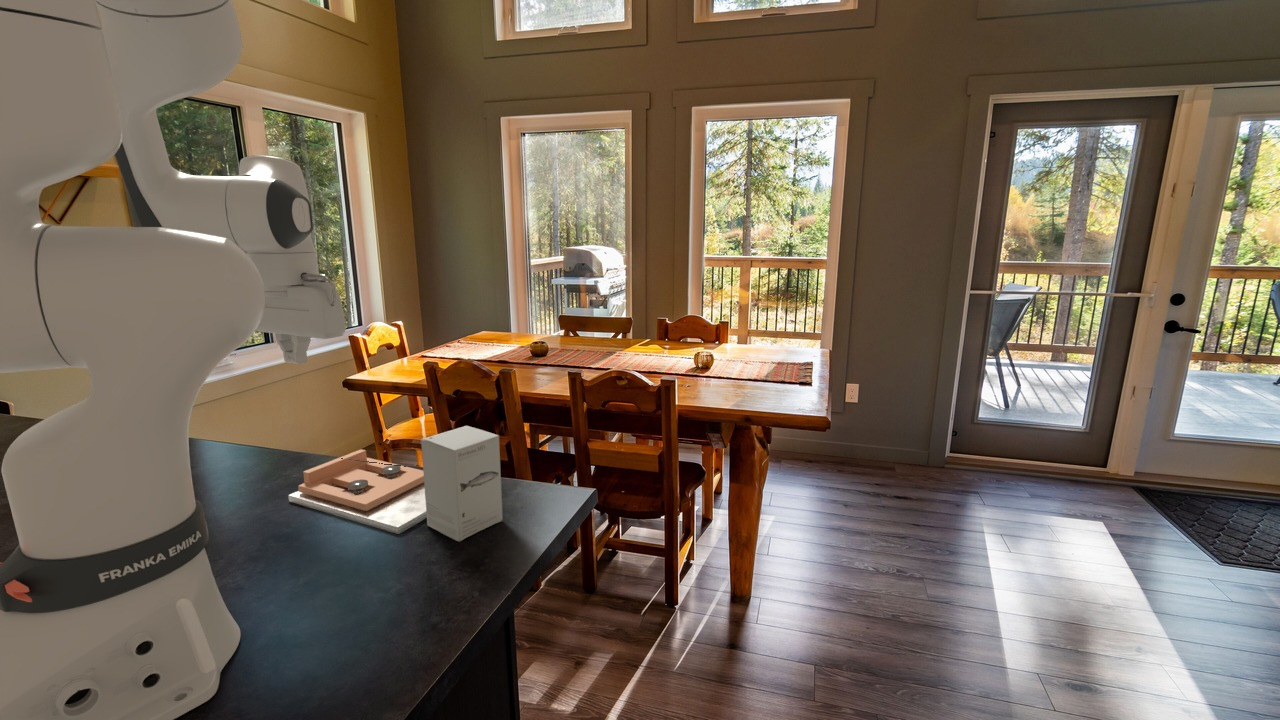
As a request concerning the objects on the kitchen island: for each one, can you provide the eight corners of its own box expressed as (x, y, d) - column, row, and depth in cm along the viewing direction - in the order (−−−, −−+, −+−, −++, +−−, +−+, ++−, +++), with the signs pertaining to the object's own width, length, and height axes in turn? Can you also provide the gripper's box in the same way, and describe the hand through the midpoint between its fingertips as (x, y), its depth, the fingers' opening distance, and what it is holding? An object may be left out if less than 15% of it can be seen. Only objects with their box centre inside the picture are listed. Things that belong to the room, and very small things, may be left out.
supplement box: (459, 544, 72) (452, 450, 70) (425, 526, 77) (418, 437, 74) (505, 521, 78) (500, 434, 76) (471, 506, 83) (466, 423, 80)
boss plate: (398, 534, 75) (396, 511, 74) (289, 501, 84) (286, 481, 83) (471, 491, 87) (470, 472, 86) (369, 467, 96) (367, 449, 95)
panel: (366, 511, 78) (364, 492, 78) (298, 491, 84) (296, 474, 83) (431, 478, 89) (429, 461, 88) (367, 463, 94) (366, 447, 94)
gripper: (351, 273, 83) (361, 365, 86) (263, 269, 92) (274, 353, 95) (311, 275, 78) (323, 373, 81) (221, 271, 86) (234, 360, 89)
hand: (296, 362), depth 88 cm, fingers closed
